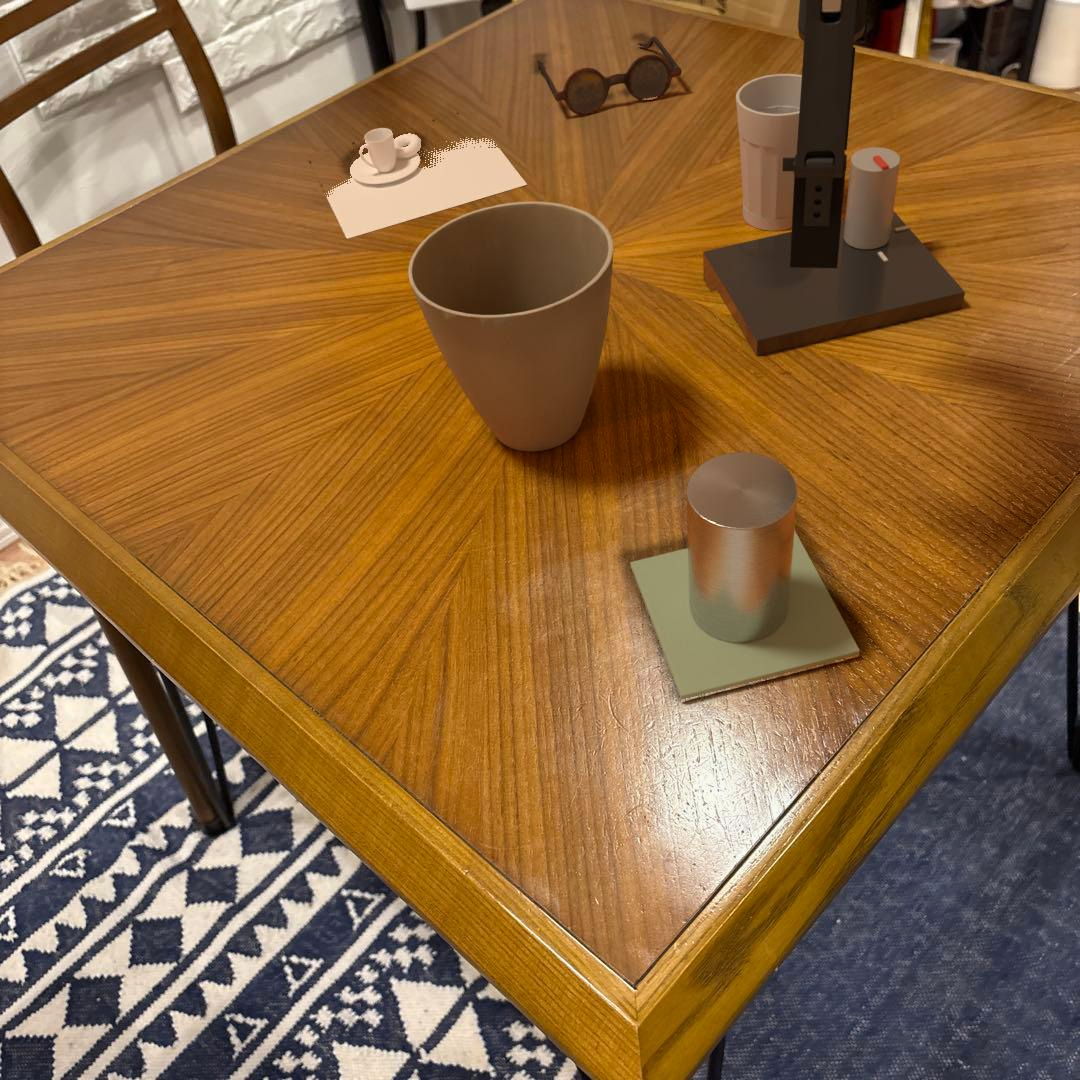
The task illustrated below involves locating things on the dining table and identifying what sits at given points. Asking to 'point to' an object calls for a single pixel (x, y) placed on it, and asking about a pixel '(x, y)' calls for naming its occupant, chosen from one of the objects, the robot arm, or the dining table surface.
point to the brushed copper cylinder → (740, 545)
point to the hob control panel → (827, 289)
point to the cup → (768, 148)
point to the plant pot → (519, 313)
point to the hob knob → (871, 197)
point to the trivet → (720, 664)
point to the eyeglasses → (616, 81)
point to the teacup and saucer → (416, 181)
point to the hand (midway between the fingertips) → (820, 202)
